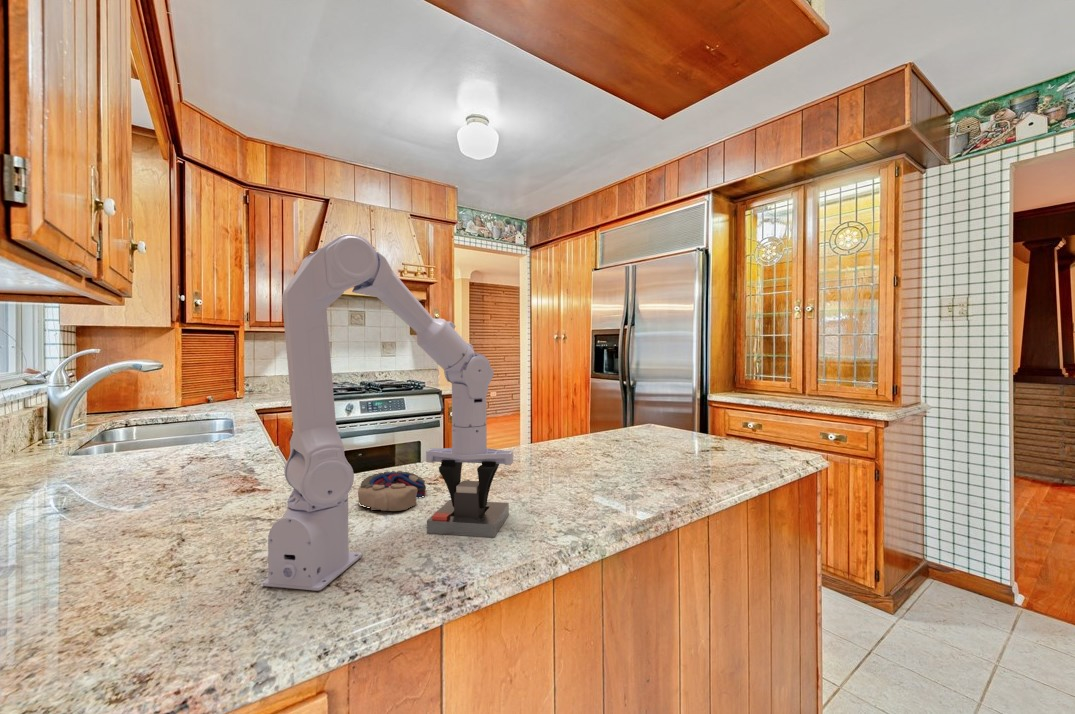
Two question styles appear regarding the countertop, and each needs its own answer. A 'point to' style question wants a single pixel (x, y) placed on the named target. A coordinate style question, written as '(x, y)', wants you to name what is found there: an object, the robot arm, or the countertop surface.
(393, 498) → the anatomical model
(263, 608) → the countertop surface
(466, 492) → the plug
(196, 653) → the countertop surface
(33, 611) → the countertop surface
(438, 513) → the socket plate
